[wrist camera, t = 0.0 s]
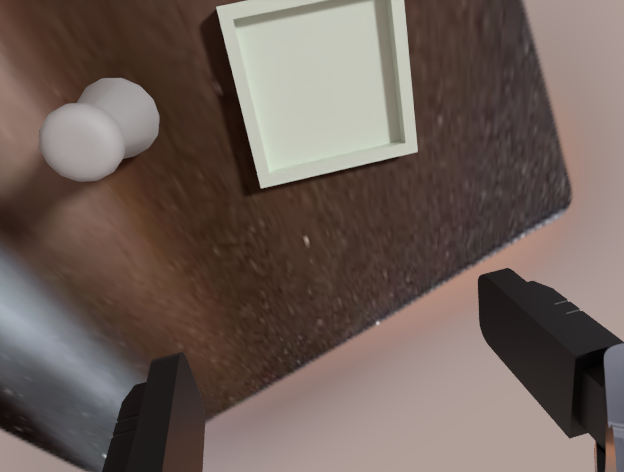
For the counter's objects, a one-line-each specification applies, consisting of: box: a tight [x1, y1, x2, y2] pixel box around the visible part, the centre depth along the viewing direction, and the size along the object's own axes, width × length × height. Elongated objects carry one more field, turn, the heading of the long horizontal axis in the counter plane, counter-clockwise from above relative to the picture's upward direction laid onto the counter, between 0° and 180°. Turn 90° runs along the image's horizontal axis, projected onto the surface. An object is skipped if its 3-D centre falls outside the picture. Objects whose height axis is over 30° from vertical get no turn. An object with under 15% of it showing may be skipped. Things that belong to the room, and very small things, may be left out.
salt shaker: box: [39, 78, 159, 182], centre depth 30 cm, size 6×6×13 cm
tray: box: [216, 0, 418, 188], centre depth 37 cm, size 14×14×2 cm
